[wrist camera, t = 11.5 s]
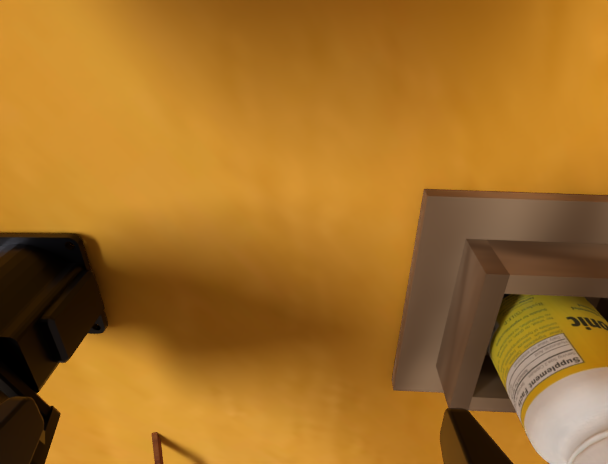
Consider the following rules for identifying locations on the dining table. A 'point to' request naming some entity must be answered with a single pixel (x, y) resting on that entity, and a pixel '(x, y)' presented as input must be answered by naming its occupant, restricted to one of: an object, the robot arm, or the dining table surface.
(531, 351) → the supplement bottle
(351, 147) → the dining table surface
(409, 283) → the socket holder
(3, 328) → the robot arm
